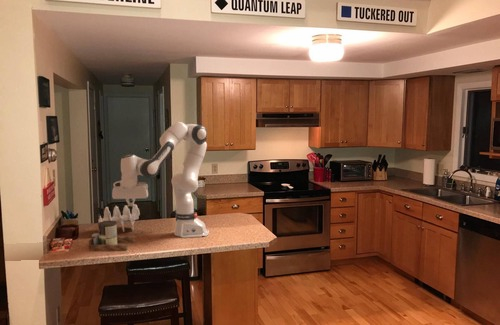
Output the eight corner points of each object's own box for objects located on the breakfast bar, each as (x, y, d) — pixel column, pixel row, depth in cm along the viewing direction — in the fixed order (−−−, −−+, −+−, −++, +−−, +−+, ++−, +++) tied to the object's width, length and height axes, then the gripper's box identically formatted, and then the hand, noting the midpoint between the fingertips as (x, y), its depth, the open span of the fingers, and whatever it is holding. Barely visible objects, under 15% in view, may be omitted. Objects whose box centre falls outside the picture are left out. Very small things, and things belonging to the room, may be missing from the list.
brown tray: (134, 241, 241) (133, 232, 240) (126, 250, 225) (126, 240, 224) (99, 242, 240) (98, 232, 240) (89, 250, 224) (88, 240, 224)
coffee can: (96, 249, 227) (95, 225, 226) (102, 243, 237) (101, 220, 236) (115, 248, 228) (114, 224, 226) (119, 243, 238) (118, 220, 237)
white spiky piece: (99, 238, 262) (138, 231, 273) (101, 233, 247) (142, 226, 258) (96, 211, 267) (134, 206, 278) (97, 204, 252) (137, 199, 263)
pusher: (103, 242, 238) (102, 231, 238) (95, 248, 226) (95, 237, 226) (97, 242, 238) (96, 231, 237) (89, 249, 226) (89, 237, 226)
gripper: (148, 181, 232) (150, 204, 234) (113, 182, 232) (115, 205, 233) (146, 183, 226) (147, 206, 227) (110, 184, 225) (112, 207, 227)
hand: (131, 206), depth 230 cm, fingers closed
